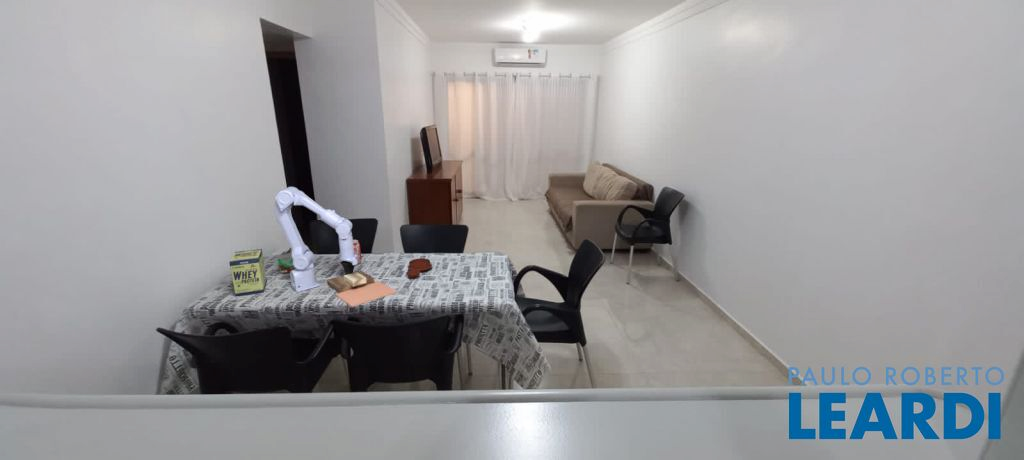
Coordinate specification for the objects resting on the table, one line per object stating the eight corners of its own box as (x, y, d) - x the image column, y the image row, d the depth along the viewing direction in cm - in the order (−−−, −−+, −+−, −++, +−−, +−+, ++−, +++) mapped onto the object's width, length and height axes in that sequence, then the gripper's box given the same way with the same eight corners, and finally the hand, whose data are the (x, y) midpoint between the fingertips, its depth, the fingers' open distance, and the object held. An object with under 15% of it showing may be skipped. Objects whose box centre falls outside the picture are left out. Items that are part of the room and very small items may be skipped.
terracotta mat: (352, 306, 163) (351, 306, 163) (335, 295, 174) (335, 294, 174) (397, 292, 177) (397, 291, 177) (379, 282, 188) (379, 281, 188)
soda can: (352, 266, 207) (349, 244, 204) (344, 264, 211) (341, 241, 208) (364, 263, 212) (362, 240, 209) (356, 260, 217) (354, 238, 213)
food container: (291, 275, 196) (288, 255, 194) (279, 275, 196) (275, 255, 194) (304, 266, 208) (302, 247, 206) (292, 266, 208) (290, 247, 206)
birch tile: (353, 286, 177) (352, 281, 176) (344, 280, 183) (343, 275, 182) (366, 282, 181) (365, 277, 180) (357, 277, 187) (356, 272, 186)
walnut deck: (339, 293, 176) (338, 287, 175) (327, 284, 185) (326, 279, 184) (374, 283, 187) (374, 277, 186) (361, 275, 196) (361, 270, 195)
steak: (434, 266, 209) (434, 258, 208) (424, 281, 189) (423, 272, 188) (412, 265, 209) (411, 257, 208) (399, 280, 190) (398, 271, 189)
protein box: (235, 297, 172) (228, 262, 168) (240, 284, 186) (234, 251, 182) (264, 292, 177) (258, 258, 172) (267, 280, 190) (262, 248, 186)
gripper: (362, 248, 180) (365, 277, 183) (348, 242, 189) (351, 269, 193) (346, 252, 175) (350, 282, 178) (332, 245, 185) (336, 273, 188)
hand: (349, 276), depth 185 cm, fingers closed
